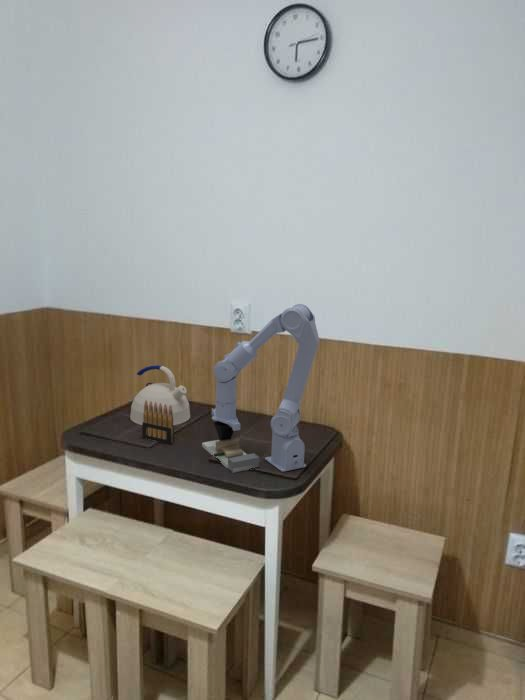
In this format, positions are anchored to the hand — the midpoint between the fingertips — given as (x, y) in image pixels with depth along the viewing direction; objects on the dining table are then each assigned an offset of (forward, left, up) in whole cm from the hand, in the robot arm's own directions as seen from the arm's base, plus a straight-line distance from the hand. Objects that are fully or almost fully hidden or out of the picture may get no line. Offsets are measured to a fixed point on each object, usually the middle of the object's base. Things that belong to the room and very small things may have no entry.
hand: (224, 446), depth 155 cm
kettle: (+37, +6, -2) cm, 37 cm away
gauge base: (-3, 0, -2) cm, 4 cm away
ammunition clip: (+17, +14, -2) cm, 22 cm away
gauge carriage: (-4, +1, -1) cm, 4 cm away
